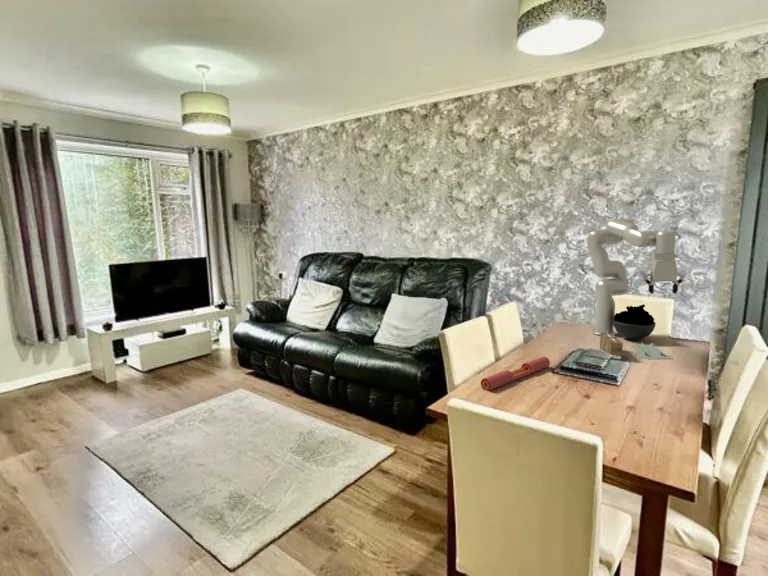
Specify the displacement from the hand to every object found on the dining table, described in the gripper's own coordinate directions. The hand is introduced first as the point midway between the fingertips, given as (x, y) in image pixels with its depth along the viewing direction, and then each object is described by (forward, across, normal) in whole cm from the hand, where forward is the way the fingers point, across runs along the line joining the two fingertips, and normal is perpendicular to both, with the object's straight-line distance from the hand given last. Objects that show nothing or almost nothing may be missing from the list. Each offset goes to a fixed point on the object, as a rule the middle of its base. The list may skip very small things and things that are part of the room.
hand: (662, 293), depth 200 cm
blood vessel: (+31, +68, +46) cm, 88 cm away
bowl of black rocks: (+29, +5, -26) cm, 39 cm away
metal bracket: (+30, +6, +3) cm, 31 cm away
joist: (+29, +23, +4) cm, 38 cm away
